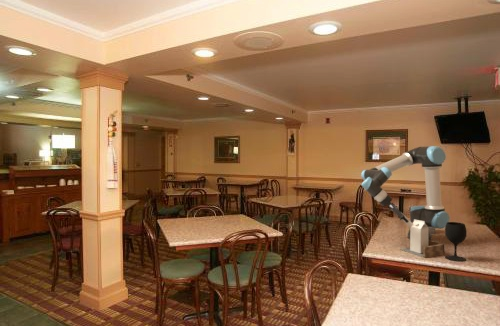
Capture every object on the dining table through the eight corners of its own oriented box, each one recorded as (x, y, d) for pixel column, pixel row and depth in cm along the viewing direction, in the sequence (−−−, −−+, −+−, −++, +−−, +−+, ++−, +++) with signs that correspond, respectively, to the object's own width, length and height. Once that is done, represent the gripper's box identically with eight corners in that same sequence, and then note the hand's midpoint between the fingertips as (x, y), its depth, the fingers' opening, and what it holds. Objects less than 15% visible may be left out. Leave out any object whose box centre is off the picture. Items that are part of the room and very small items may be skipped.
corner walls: (417, 246, 210) (417, 237, 210) (444, 254, 193) (444, 244, 193) (398, 249, 204) (398, 239, 203) (425, 257, 186) (425, 247, 186)
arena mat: (417, 247, 209) (417, 246, 209) (440, 253, 194) (440, 253, 194) (400, 249, 203) (400, 249, 203) (423, 257, 188) (423, 256, 188)
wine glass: (466, 262, 177) (466, 226, 177) (444, 259, 183) (444, 224, 183) (466, 257, 186) (466, 222, 186) (445, 254, 192) (445, 221, 191)
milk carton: (417, 249, 203) (417, 218, 202) (428, 252, 196) (428, 220, 196) (410, 250, 200) (410, 219, 199) (420, 253, 193) (420, 221, 193)
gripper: (376, 199, 216) (401, 223, 212) (380, 205, 192) (408, 232, 188) (385, 192, 214) (410, 215, 210) (390, 196, 190) (418, 223, 186)
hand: (409, 223), depth 199 cm, fingers open, 13 cm apart
